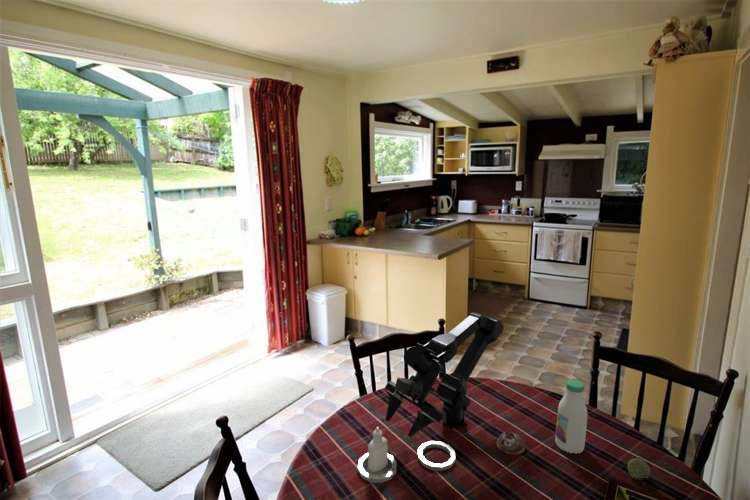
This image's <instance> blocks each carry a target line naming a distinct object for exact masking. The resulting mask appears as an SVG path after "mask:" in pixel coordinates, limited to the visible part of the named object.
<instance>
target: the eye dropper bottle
mask: <svg viewBox="0 0 750 500" xmlns="http://www.w3.org/2000/svg"><path fill="white" fill-rule="evenodd" d="M372 435H373V436H372V440H371V441H370V442H369V444H368V445H367V446H368V447H367V453H368V469H369V470H370V471H371V472H373V473H376V472H379V471H381V470H383V469H384V468H385V467H386V465H387V463H388V454H389V453H388V440H387V438H385V437H384V436H383V430H381V429H380V428H379V426H376V428H375V430H373V432H372Z"/></svg>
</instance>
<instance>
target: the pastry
mask: <svg viewBox="0 0 750 500" xmlns="http://www.w3.org/2000/svg"><path fill="white" fill-rule="evenodd" d="M496 446H497V448H498V449H499V450H500V451H502V452H504V453H505V454H507V455H513V456H519V455H521V454H523V453H525V451H526V443H525V441H524V440H523V438H522V437H521V436H520V434H517V433H515V432H513V431H505V432H503V433H501V434H500V435H499V437H498V438H497V439H496Z"/></svg>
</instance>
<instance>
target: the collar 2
mask: <svg viewBox="0 0 750 500" xmlns="http://www.w3.org/2000/svg"><path fill="white" fill-rule="evenodd" d="M431 448H438V449H441V450H444V451H446V452H447V453H448V455H450V458H449V459H448V460H447V461H445V462H443V463H434V462H431V461H429V460H427V459H426V458H425V456H424V455H423V453H425V451H426V450H428V449H431ZM417 460H418V462H419V463H420V464H421V465H422V466H423V467H424V468H427V469H429V470H431V471H438V472H440V471H441V472H443V471H446V470H449V469H452V467H454V465H455V463H456V460H457V459H456V452H455V449H453V448H452V447H451V445H450V444H448V443H445V442H443V441H438V440H437V441H436V440H429V441H426V442H424V443H422V444H421V445H420V446H419V447H418V448H417Z"/></svg>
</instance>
